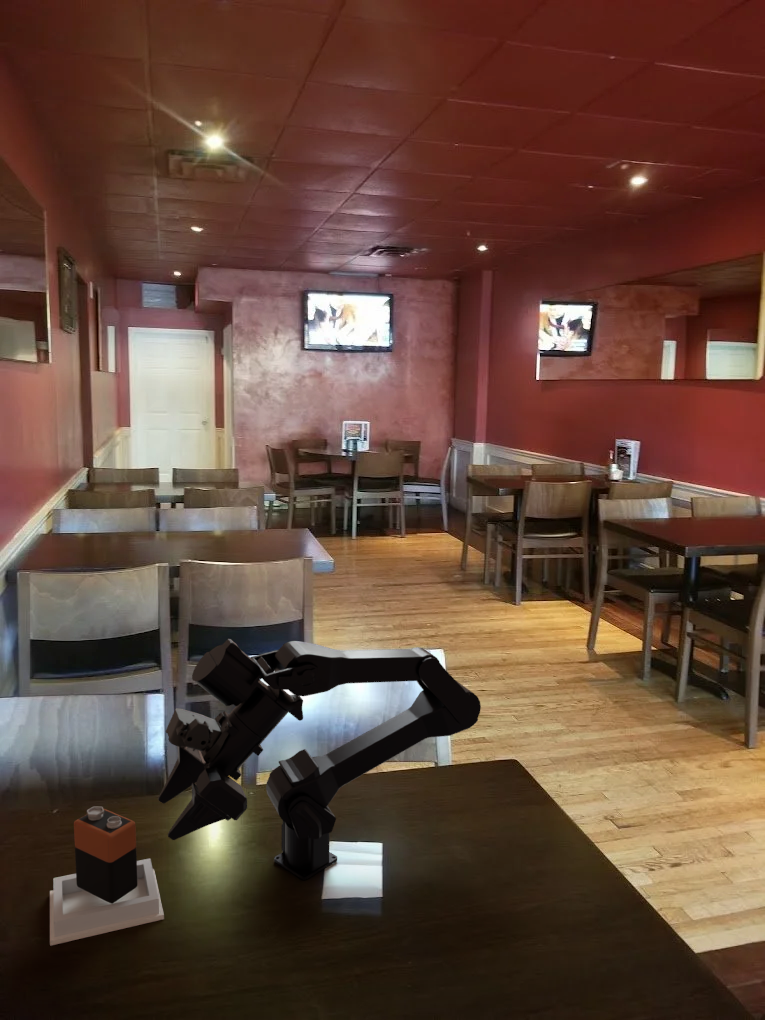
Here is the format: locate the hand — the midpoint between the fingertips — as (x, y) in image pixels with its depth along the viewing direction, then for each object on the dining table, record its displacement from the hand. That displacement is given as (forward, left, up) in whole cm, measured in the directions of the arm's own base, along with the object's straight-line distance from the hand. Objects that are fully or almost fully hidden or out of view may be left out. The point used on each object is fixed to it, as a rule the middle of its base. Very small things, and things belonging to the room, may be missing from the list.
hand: (165, 818), depth 101 cm
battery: (+3, +7, -8) cm, 11 cm away
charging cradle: (+3, +7, -10) cm, 13 cm away
